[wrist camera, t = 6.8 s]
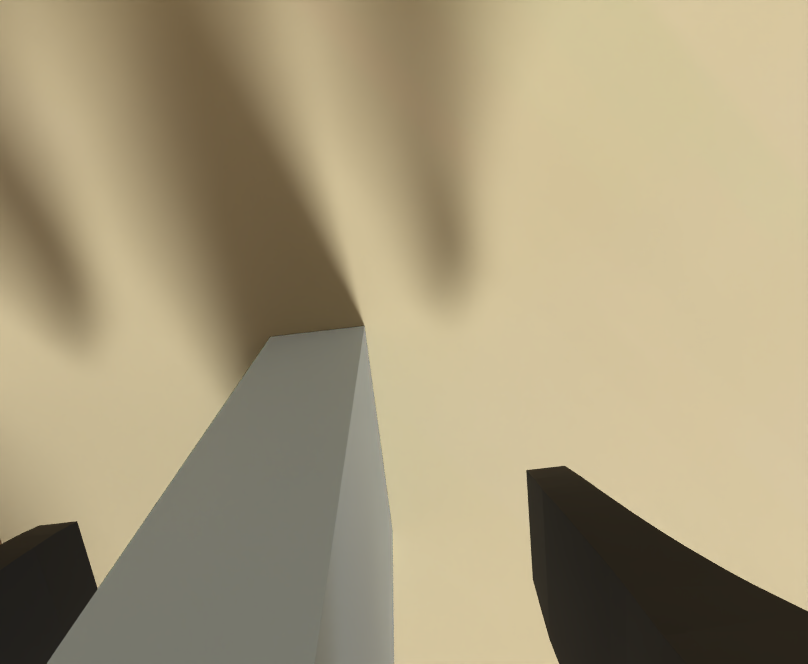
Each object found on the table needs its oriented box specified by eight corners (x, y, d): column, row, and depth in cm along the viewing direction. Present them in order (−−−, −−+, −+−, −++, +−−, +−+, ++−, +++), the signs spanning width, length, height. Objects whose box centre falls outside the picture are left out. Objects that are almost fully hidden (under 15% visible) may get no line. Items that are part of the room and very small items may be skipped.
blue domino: (392, 530, 14) (399, 1158, 5) (307, 539, 14) (170, 1182, 5) (364, 325, 12) (308, 705, 4) (270, 336, 12) (-7, 741, 4)
